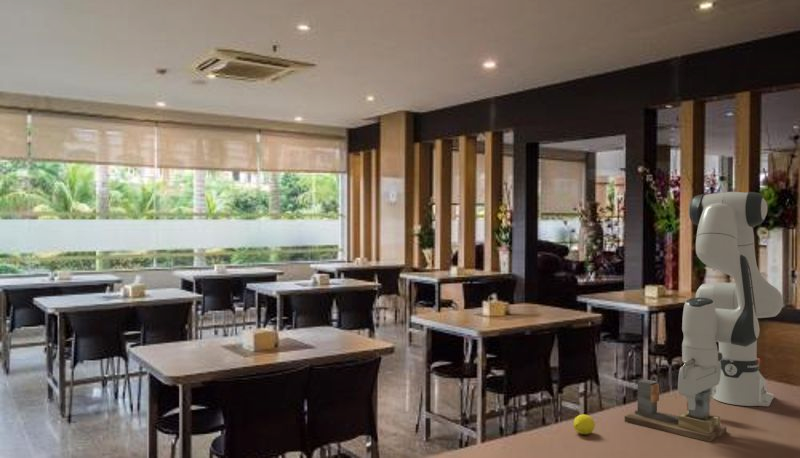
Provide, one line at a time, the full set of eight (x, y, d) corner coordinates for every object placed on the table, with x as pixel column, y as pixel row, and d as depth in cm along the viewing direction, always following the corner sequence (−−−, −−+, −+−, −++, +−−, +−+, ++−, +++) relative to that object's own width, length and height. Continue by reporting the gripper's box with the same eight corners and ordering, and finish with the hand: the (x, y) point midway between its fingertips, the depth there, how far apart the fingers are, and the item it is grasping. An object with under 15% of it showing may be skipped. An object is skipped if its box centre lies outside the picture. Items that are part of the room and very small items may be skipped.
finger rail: (643, 413, 192) (643, 376, 192) (726, 432, 174) (726, 391, 174) (624, 421, 183) (624, 382, 183) (709, 441, 166) (709, 398, 166)
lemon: (582, 431, 176) (583, 411, 177) (598, 436, 172) (600, 416, 172) (567, 432, 172) (568, 412, 172) (583, 437, 168) (585, 417, 168)
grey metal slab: (709, 423, 173) (709, 391, 173) (703, 426, 171) (703, 394, 171) (692, 419, 177) (692, 388, 177) (686, 422, 174) (686, 390, 174)
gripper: (695, 364, 164) (695, 416, 164) (725, 353, 178) (725, 401, 178) (671, 360, 169) (671, 411, 169) (702, 350, 183) (702, 396, 183)
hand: (699, 405), depth 174 cm, fingers open, 8 cm apart
